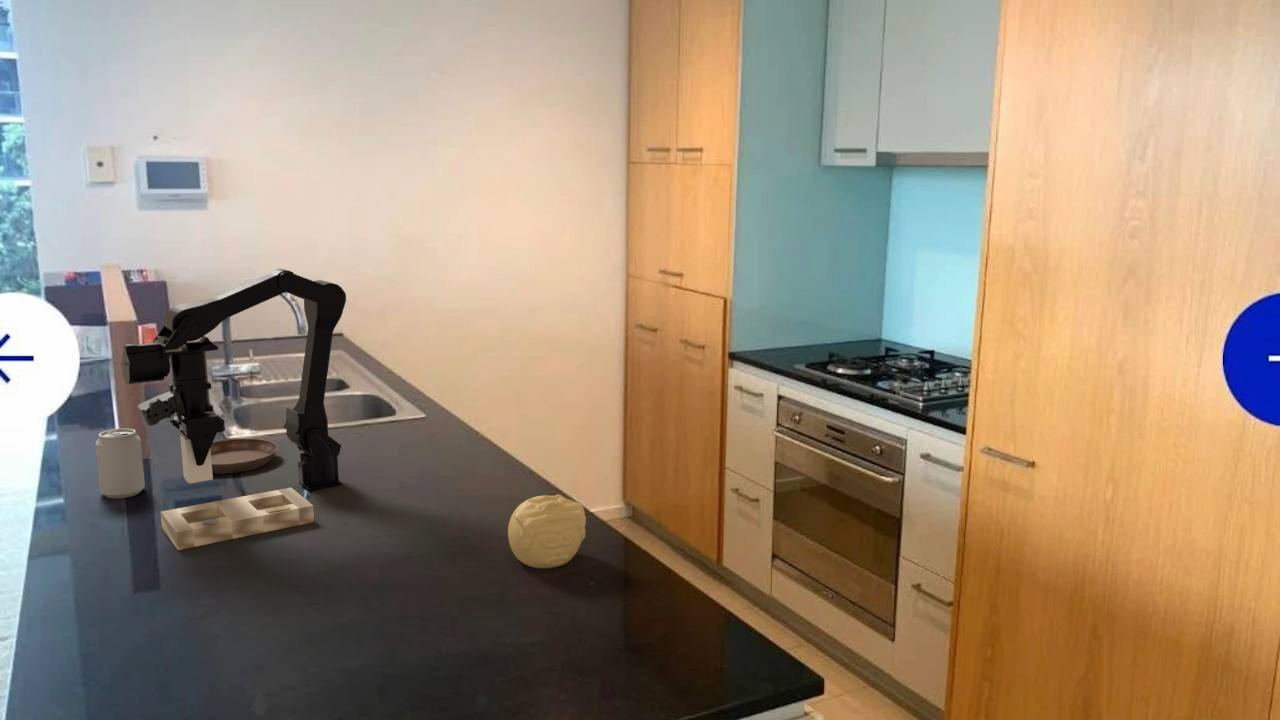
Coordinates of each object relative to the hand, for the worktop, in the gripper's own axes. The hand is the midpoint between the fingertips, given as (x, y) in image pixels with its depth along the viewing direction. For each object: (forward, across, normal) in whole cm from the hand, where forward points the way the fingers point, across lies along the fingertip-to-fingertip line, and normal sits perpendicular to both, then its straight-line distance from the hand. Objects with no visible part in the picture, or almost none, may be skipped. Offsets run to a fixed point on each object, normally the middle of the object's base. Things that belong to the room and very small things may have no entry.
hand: (197, 462), depth 177 cm
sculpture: (+9, +57, +38) cm, 69 cm away
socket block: (+9, +13, +3) cm, 16 cm away
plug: (+3, 0, 0) cm, 3 cm away
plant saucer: (+9, -25, +12) cm, 29 cm away
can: (+9, -17, -10) cm, 22 cm away
